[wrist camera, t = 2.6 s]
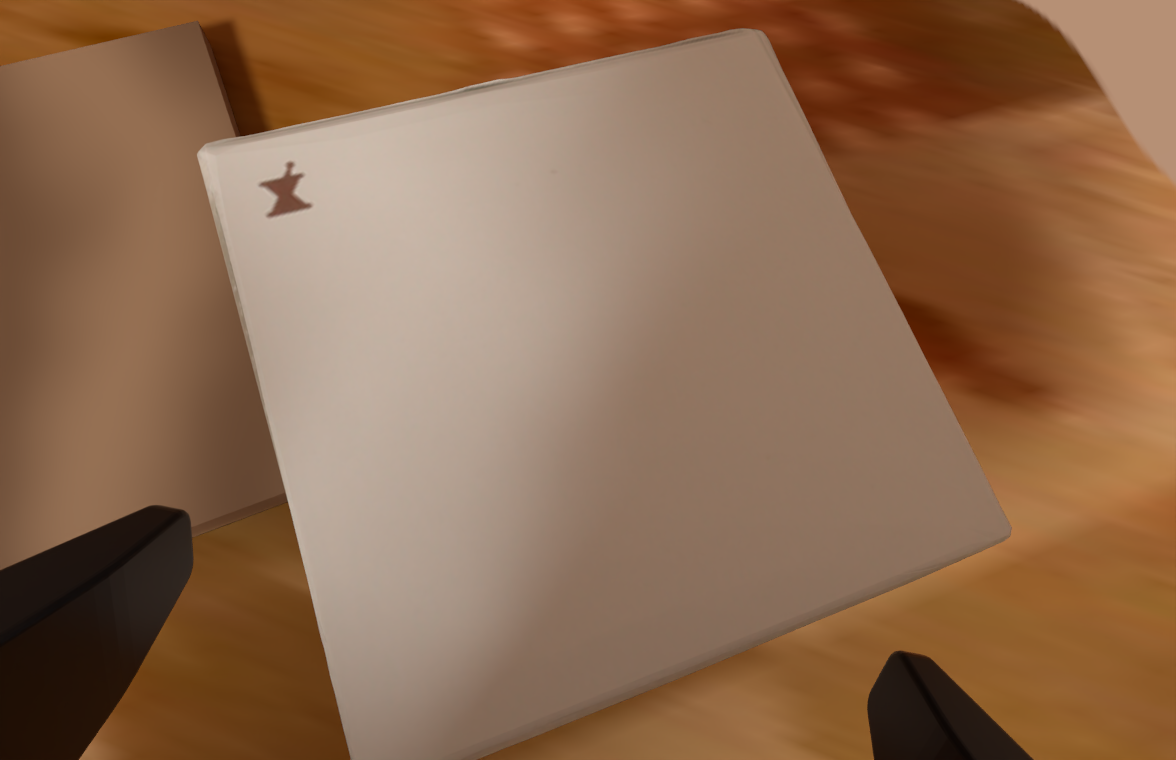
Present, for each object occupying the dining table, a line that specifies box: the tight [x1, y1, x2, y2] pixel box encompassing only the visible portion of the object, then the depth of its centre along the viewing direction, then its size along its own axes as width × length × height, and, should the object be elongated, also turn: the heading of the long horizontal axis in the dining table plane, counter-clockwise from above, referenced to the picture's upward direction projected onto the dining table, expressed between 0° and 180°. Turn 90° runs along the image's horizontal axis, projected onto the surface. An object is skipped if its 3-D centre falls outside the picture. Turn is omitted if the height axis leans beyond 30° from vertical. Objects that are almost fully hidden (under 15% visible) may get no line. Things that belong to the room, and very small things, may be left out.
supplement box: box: [197, 28, 1012, 760], centre depth 14 cm, size 7×7×13 cm
